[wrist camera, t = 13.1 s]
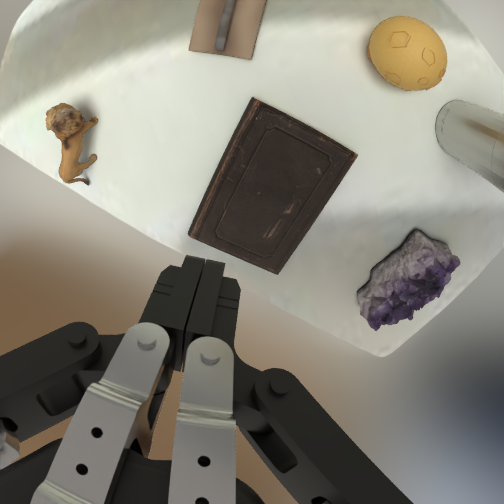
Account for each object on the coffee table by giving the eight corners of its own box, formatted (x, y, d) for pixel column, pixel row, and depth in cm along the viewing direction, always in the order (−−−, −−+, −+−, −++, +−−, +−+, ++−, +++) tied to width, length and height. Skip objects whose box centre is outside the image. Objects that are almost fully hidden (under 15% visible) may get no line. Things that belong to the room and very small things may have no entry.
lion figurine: (71, 98, 36) (35, 109, 28) (98, 94, 36) (63, 104, 28) (78, 183, 44) (48, 207, 36) (104, 184, 44) (75, 209, 36)
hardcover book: (354, 150, 39) (358, 155, 38) (277, 266, 52) (277, 275, 50) (252, 96, 36) (251, 97, 34) (189, 228, 48) (186, 235, 46)
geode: (381, 316, 57) (387, 353, 48) (342, 287, 55) (345, 324, 47) (456, 252, 46) (476, 285, 38) (422, 213, 44) (442, 242, 36)
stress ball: (361, 13, 28) (387, -1, 19) (426, 32, 27) (464, 28, 19) (357, 80, 33) (383, 84, 25) (421, 95, 33) (458, 105, 25)
